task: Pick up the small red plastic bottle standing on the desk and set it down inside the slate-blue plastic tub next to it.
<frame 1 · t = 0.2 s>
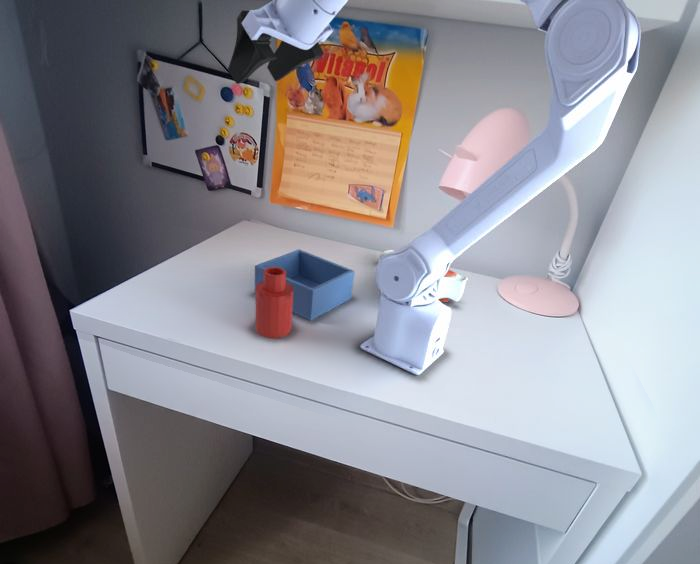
hand: (254, 75, 62), 31 cm above the table, tool tilted 45°, fingers open, 7 cm apart
bottle: (273, 328, 68), on the table
tub: (303, 296, 77), on the table
tape dispenser: (414, 289, 85), on the table
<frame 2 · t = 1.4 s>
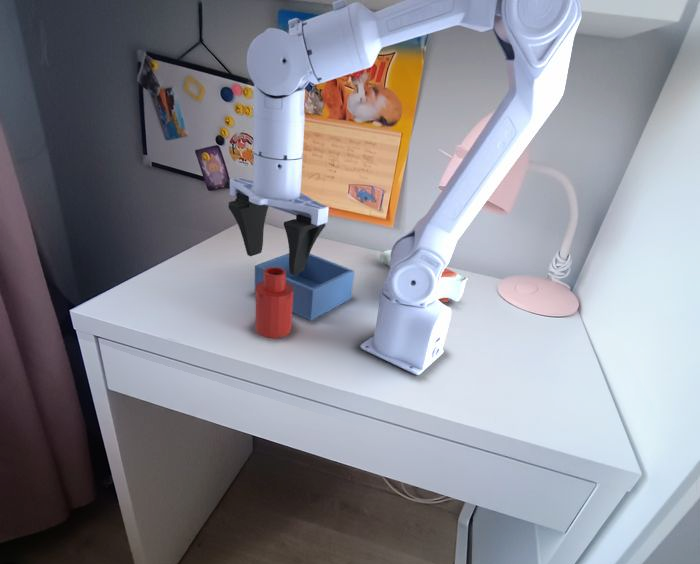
hand: (275, 262, 62), 10 cm above the table, tool pointing down, fingers open, 7 cm apart
nothing on the table moved.
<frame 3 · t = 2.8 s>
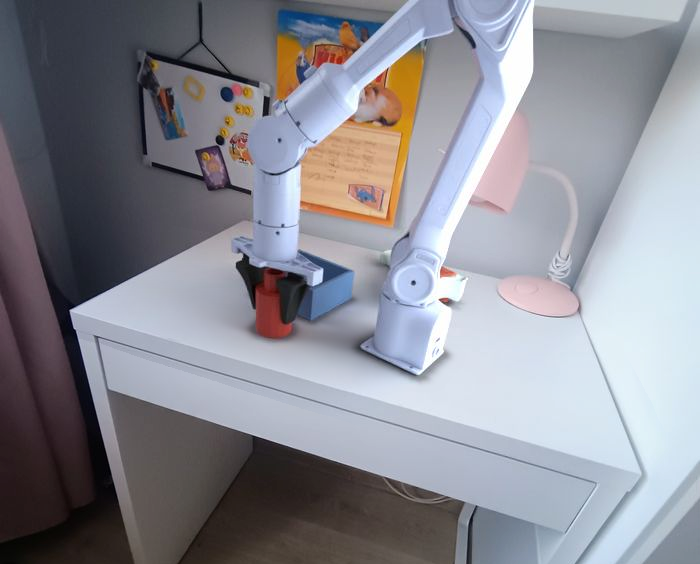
hand: (273, 314, 66), 2 cm above the table, tool pointing down, fingers closed on bottle, 5 cm apart
bottle: (273, 328, 68), on the table, touching gripper
everything else where it was.
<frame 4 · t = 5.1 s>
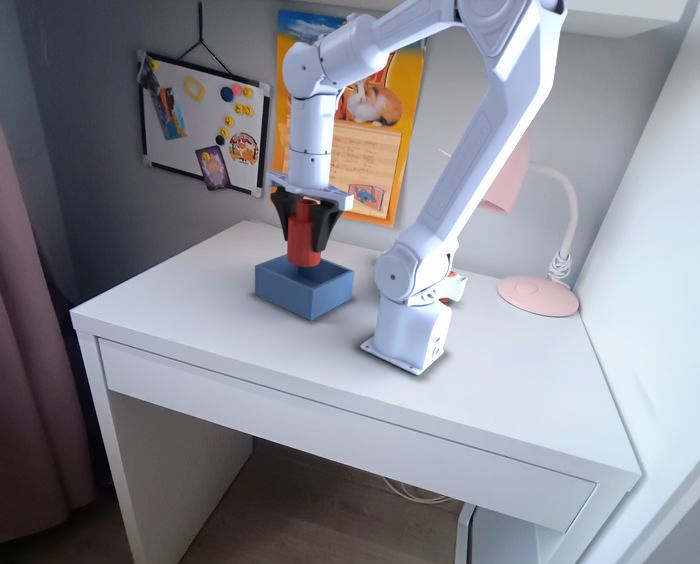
hand: (304, 245, 71), 9 cm above the table, tool pointing down, fingers closed on bottle, 5 cm apart
bottle: (303, 260, 73), point 7 cm above the table, touching gripper
everything else where it was.
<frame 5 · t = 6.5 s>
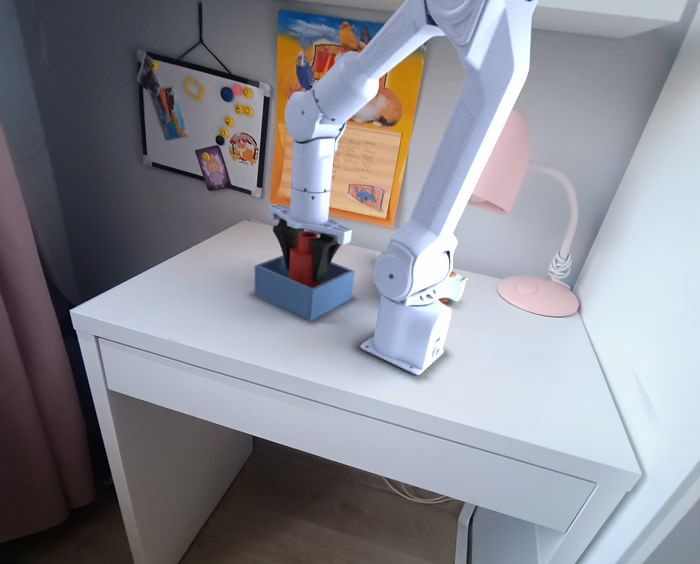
hand: (305, 274, 75), 4 cm above the table, tool pointing down, fingers closed on bottle, 5 cm apart
bottle: (304, 287, 76), point 2 cm above the table, touching gripper
everything else where it was.
when the fingers open (3 cm above the table, at t = 7.3 s): bottle stays where it is, resting on tub.
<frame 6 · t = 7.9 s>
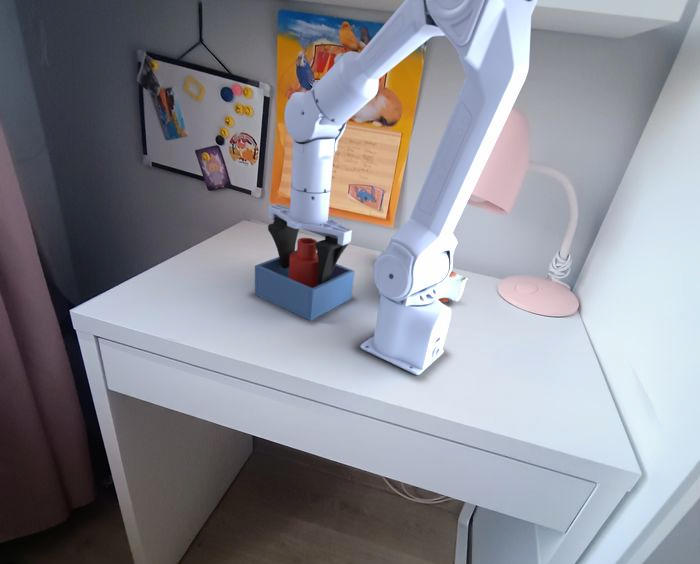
hand: (305, 274, 75), 4 cm above the table, tool pointing down, fingers open, 7 cm apart
bottle: (303, 293, 77), point 1 cm above the table, touching tub
everything else where it was.
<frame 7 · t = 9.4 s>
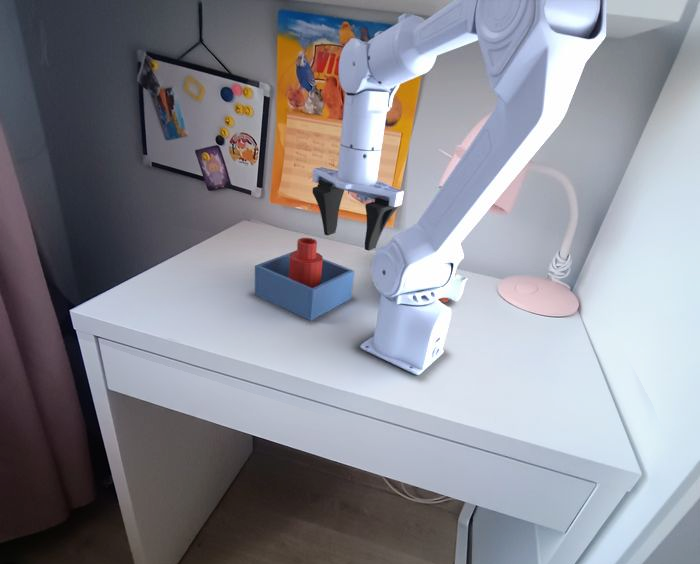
hand: (349, 241, 72), 10 cm above the table, tool pointing down, fingers open, 7 cm apart
nothing on the table moved.
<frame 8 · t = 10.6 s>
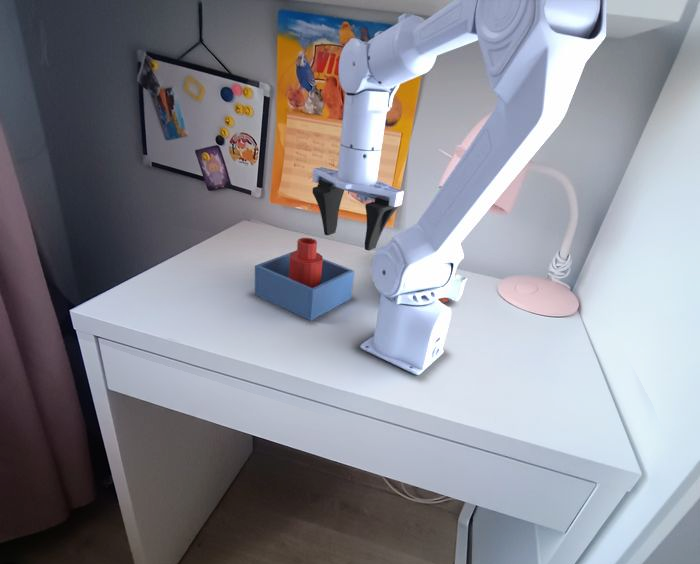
hand: (349, 241, 72), 10 cm above the table, tool pointing down, fingers open, 7 cm apart
nothing on the table moved.
at the end: bottle inside the target area in the tub (0.0 cm from its centre), point 0.6 cm above the tub's base; bottle tilted 0°; the gripper is holding nothing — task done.
